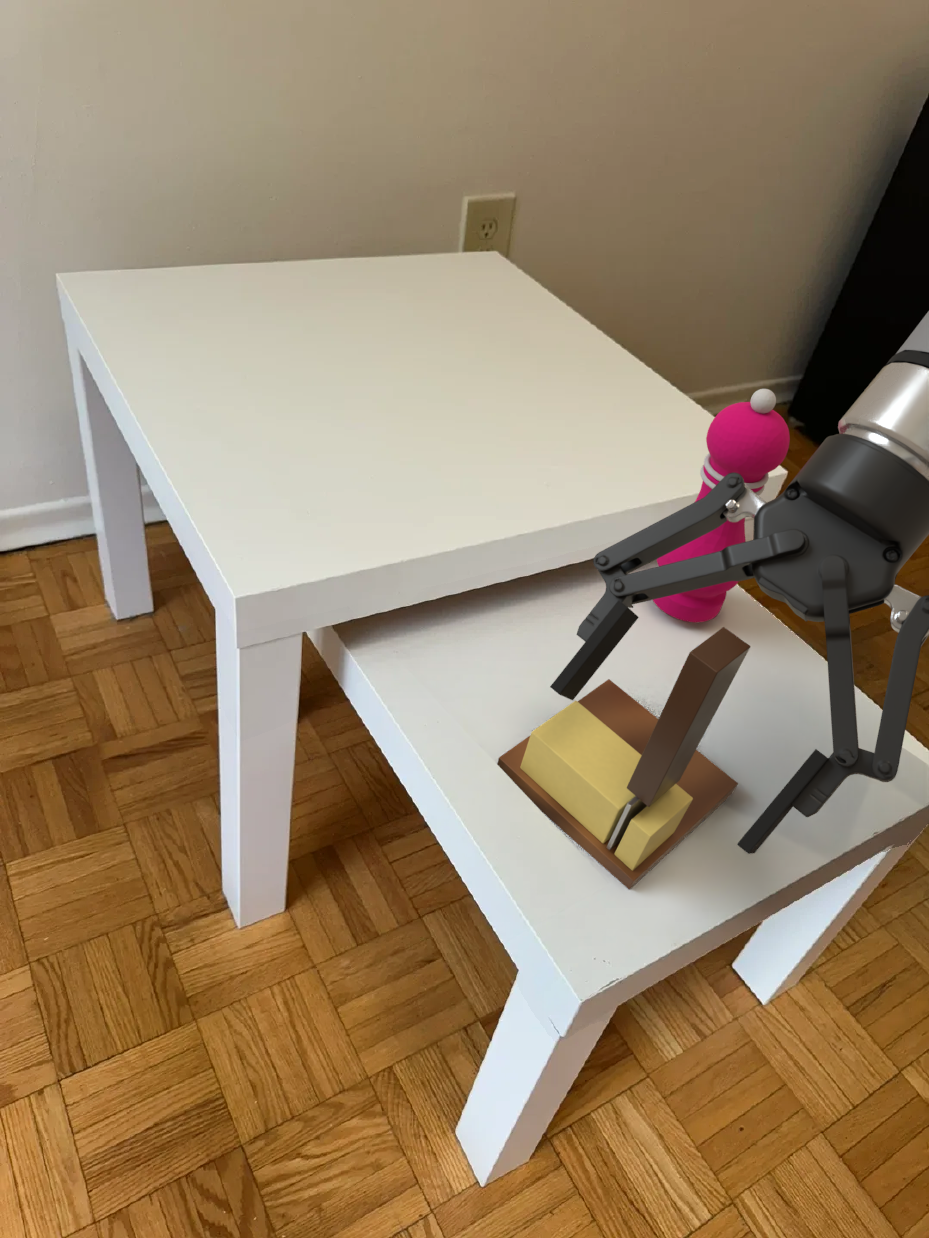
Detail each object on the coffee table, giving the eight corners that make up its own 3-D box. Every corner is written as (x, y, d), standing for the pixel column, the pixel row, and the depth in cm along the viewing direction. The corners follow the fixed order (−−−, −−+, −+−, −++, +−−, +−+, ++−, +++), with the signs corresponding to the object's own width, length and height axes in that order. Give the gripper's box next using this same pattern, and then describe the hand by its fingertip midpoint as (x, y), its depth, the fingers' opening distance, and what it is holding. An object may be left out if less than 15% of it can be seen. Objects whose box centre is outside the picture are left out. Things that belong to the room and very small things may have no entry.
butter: (674, 832, 61) (693, 798, 58) (632, 871, 59) (650, 837, 56) (562, 735, 66) (576, 699, 63) (519, 768, 63) (531, 731, 60)
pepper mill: (661, 561, 84) (735, 356, 70) (736, 595, 82) (827, 390, 68) (630, 602, 79) (704, 390, 66) (710, 639, 77) (803, 428, 63)
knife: (663, 818, 62) (759, 639, 50) (618, 858, 59) (708, 679, 47) (642, 800, 62) (731, 620, 50) (597, 839, 60) (680, 658, 48)
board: (731, 795, 66) (738, 783, 65) (627, 893, 59) (633, 881, 58) (603, 691, 71) (608, 678, 70) (494, 770, 64) (498, 757, 63)
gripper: (1098, 614, 49) (839, 918, 51) (718, 391, 60) (516, 649, 62) (1132, 579, 43) (833, 931, 44) (697, 336, 54) (472, 626, 55)
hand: (647, 767), depth 53 cm, fingers open, 13 cm apart
